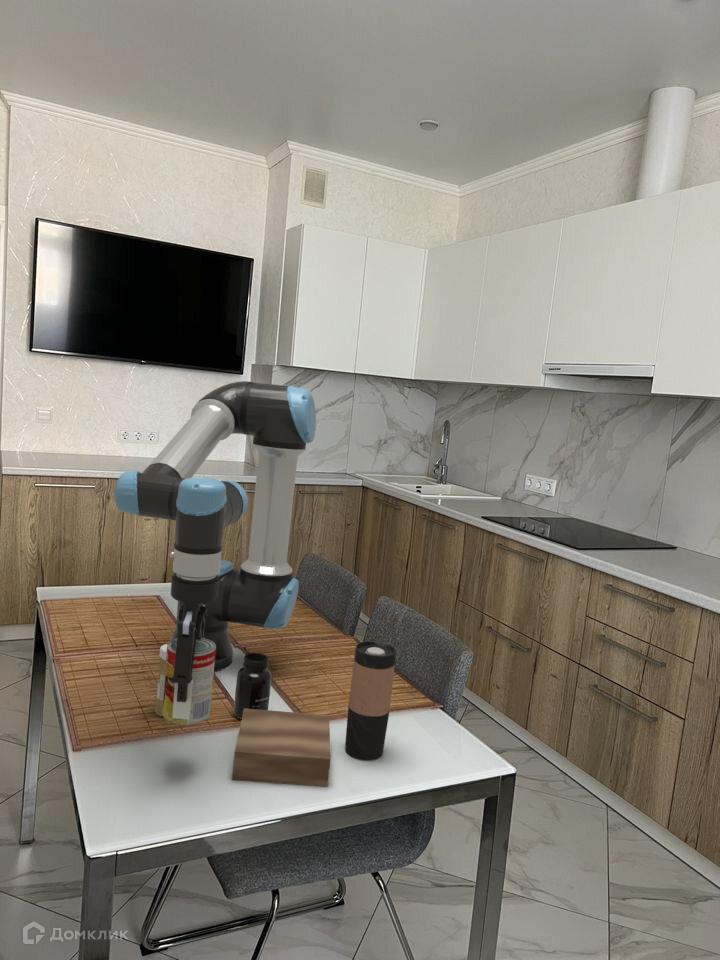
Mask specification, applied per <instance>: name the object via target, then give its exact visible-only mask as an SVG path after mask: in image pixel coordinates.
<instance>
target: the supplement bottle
mask: <svg viewBox="0 0 720 960" xmlns="http://www.w3.org/2000/svg"><path fill="white" fill-rule="evenodd" d="M242 666H243V667H241V668H240V669H239V670H238V672H237V675H236V683H235V691H234V692H235V693H234V700H233V711H232V712H233V715H234V714H235V715H234V716H235V717H236V716H237V717H239V718H241V719H242V715H243V710H244V709H257V710H269V703H270V695H271V687H272V673H271V670H269V669H268V668H269V656H268V655H266V654H264V653H258V652H250V653H247V654H245V655H244V657H243V662H242ZM237 717H236V718H237ZM241 719H240V720H241Z"/></svg>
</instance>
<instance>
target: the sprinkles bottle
mask: <svg viewBox="0 0 720 960" xmlns="http://www.w3.org/2000/svg"><path fill="white" fill-rule="evenodd" d="M167 644H168V643H165V644H163V645H161V646H160V648H159V669H158V682H157V689H156V690H157V691H156V707H155V711H154V712H155V713H156V715H157V716H159V717H162V716H163V714H162V711H163V697H164V683H165V669H166V655H167Z"/></svg>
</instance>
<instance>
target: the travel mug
mask: <svg viewBox="0 0 720 960" xmlns="http://www.w3.org/2000/svg"><path fill="white" fill-rule="evenodd" d="M354 650H355V651H354V658H353V666H352V672H351V673H352V675H351V683H350V691H349V698H348V705H347V708H348V709H347V718H346V731H345V743H344V749H345V750H344V751H345V752H346V753H347V755H349V756H350V757H352V758H354V759H355V760H361V761H375V760H377V759H379V758H381V757H382V755H383V754H384V753H383V752H384V748H385V742H386V736H387V735H386V734H387V730H388V729H387V728H388V723H389V716H390V709H391V701H392V692H393V684H394V683H393V682H394V675H395V665H396V657H397V649H396V648H395V647H394V646H393V645H391V644H387V645H381V644H378V643H377V641H373V640H368V641H367V640H366V641H362V642H361V641H360V642H358V643H357V644H356V646H355V649H354Z"/></svg>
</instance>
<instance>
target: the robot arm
mask: <svg viewBox="0 0 720 960" xmlns="http://www.w3.org/2000/svg"><path fill="white" fill-rule="evenodd" d="M315 404H316V403H315V400H314V397H313V394H312V393H311V392H310V390H308V389H306V388H302V387H297V386H292V385H281V384H280V385H279V384H273V383H271V384H270V383H263V382H253V381H247V380H244V381H243V380H242V381H235V382H231V383H227V384H225V385H222V386H220V387H217V388H215V389H214V390H211V391H210V392H208V393H207V394H205V395H204V396H203V397H202V398H200V399H199V400H198V401H197V402H196V403H195V405H194V406H193V408H192V409H191V413H190V418H189V419H188V420H187V422H186V423H185V424H184V425H183V426H182V427H181V428H180V429H179V430H178V432H177V433H176V434H175V435H174V436H173V437H172V438H171V440H170V441H169V442H168V443H167V445H165V446H164V448H162V450H161V451H160V452H159V453H158V455H157V456H156V457H155V458H154V459H153V461H151V462H150V464H149V465H148V466H147V467H146V468H145V469H144V470H143V471H142V472H141V471H139V470H135V471H132V470H131V471H129V470H128V471H125V472H123V473H122V474H120V475H119V476H118V479H117V481H116V482H115V483H116V484H115V488H114V500H115V501H114V502H115V506H116V508H117V509H118V511H120V512H121V513H125V514H130V515H135V516H138V517H145V518H153V519H162V520H168V521H169V520H170V521H175V529H174V531H175V532H174V545H173V547H174V549H173V551H171V552H170V554H169V557H170V558H171V559H174V560H173V561H172V562H173V563H172V571H173V572H174V573H173V574H172V575H171V583H170V584H171V586H170V596H171V598H172V599H174V600H175V601H177V607H176V608H177V609H176V620H175V628H174V631H173V633H172V636H171V637H170V640H169V642H170V641H171V640H173V639H176V638H177V647H176V657H175V667H174V677H170V681H173V683H175V688H174V702H173V715H172V718H176V719H190V711H191V699H192V686H193V679H192V671H193V662H194V655H195V648H196V640H197V639H199V640H201V637H202V638H206V639H209V640H211V641H213V642H214V643H215V645H216V653H215V665H214V673H215V672H219V671H222V670H225V669H227V668H228V667H230V666H231V665H232V663H233V660H234V659H233V657H234V656H233V655H234V652H233V651H234V650H233V646H232V642H231V638H230V633H229V629H228V627H229V626H228V624H229V623H234V624H241V625H245V626H246V625H247V626H254V627H256V628H257V627H258V628H262V629H273V630H281V629H283V628H285V627H286V625H287V624H288V623H289V621H290V618H291V617H292V614H293V611H294V608H295V606H296V601H297V598H298V592H299V588H300V587H299V585H300V581H299V580H298V579H296V578H295V577H293V568H292V566H291V565H290V564H289V563H288V551H289V545H290V544H289V543H290V536H291V535H290V534H291V533H290V532H291V524H292V517H293V516H292V514H293V506H294V496H295V488H296V487H295V485H296V479H297V478H296V477H297V469H298V467H297V465H298V458H299V456H300V455H301V454H302V453H304V452H305V451H306V448H307V447H306V446H307V444H310V443H312V442H313V441H314V439H315V436H316V430H317V429H316V428H317V415H316V414H317V412H316V406H315ZM233 434H236V435H237V434H238V435H245V436H251V437H252V446H253V447H254V448H255V450H256V451H257V453H258V457H257V469H256V478H255V488H254V498H253V508H252V516H251V517H252V518H251V526H250V527H251V528H250V529H251V530H250V539H249V548H248V549H249V550H248V558H247V559H246V560H245V561H244V562H243V563H242V564H240V570H235V569H234V568H235V566H234V563H233V562H232V561H231V560H230V561H228V560H227V559H222V552H223V551H222V546H223V544H222V543H223V533H224V529H225V528H227V527H229V526H231V525H232V524H235V523H237V522H238V521H239V520H240V518H241V517H242V516H243V515H245V513H246V511H247V510H248V505H249V499H248V495H247V492H246V490H245V488H244V487H243V486H242V485H240V484H239V483H238V482H236V481H234V480H218V479H213V478H208V477H194V476H195V474H196V473H197V472H198V470H199V469H200V468H201V466H202V465H203V464H204V462H205V461H206V459H207V458H208V457H209V456H210V455H211V453H212V452H213V450H215V448H216V446H217V445H218V444H219V443H220V441H224V440H226V439H228V438H229V437H230V436H231V435H233Z"/></svg>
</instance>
